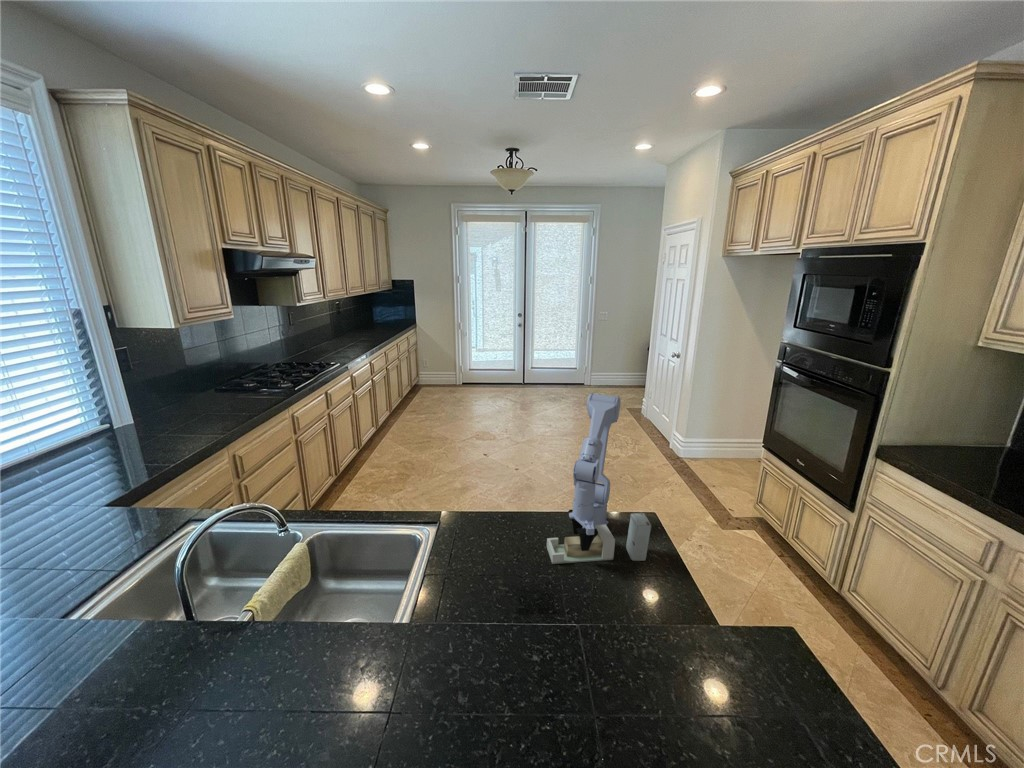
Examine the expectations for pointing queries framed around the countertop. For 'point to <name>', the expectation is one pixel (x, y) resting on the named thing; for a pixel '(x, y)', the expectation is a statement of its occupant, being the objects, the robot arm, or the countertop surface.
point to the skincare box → (638, 537)
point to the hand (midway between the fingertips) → (580, 541)
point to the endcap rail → (560, 556)
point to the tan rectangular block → (574, 547)
